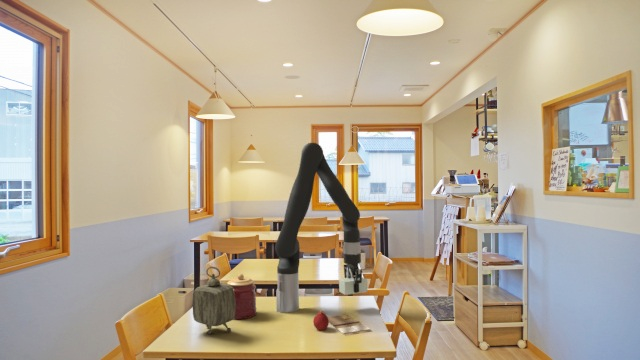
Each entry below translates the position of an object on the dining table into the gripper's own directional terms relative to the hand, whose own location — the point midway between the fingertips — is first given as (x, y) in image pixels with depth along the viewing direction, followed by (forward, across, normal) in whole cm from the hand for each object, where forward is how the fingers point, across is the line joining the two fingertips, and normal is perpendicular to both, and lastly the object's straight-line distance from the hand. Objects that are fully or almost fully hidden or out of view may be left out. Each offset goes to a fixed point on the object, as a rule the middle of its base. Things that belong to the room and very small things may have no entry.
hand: (353, 290), depth 189 cm
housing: (+1, 0, 0) cm, 1 cm away
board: (+9, +17, -11) cm, 22 cm away
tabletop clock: (+9, +2, -60) cm, 61 cm away
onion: (+9, +18, -22) cm, 30 cm away
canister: (+9, -15, -46) cm, 49 cm away
